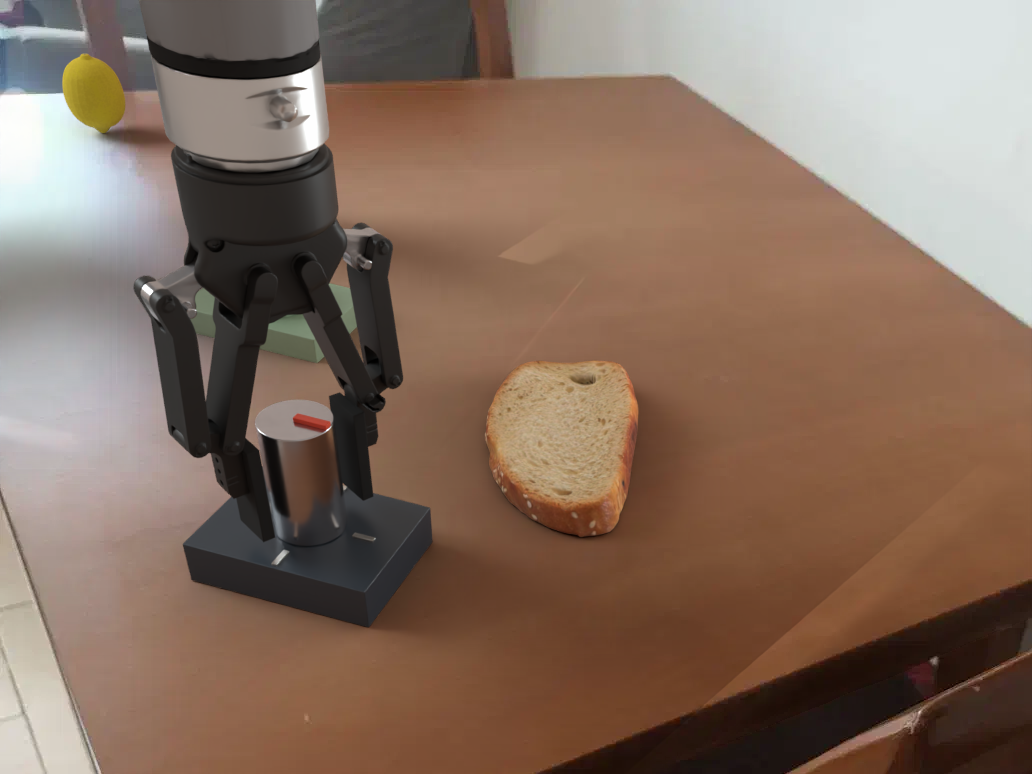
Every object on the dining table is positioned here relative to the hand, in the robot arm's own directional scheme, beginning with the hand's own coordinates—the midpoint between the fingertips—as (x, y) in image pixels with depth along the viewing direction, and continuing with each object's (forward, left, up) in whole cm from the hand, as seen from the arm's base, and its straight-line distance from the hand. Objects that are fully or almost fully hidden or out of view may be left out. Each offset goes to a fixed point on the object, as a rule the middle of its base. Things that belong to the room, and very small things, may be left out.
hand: (308, 507), depth 71 cm
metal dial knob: (0, 0, -1) cm, 1 cm away
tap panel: (0, 0, -4) cm, 4 cm away
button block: (-18, +26, -4) cm, 32 cm away
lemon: (-54, +53, -5) cm, 76 cm away
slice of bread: (+11, +19, -5) cm, 22 cm away
